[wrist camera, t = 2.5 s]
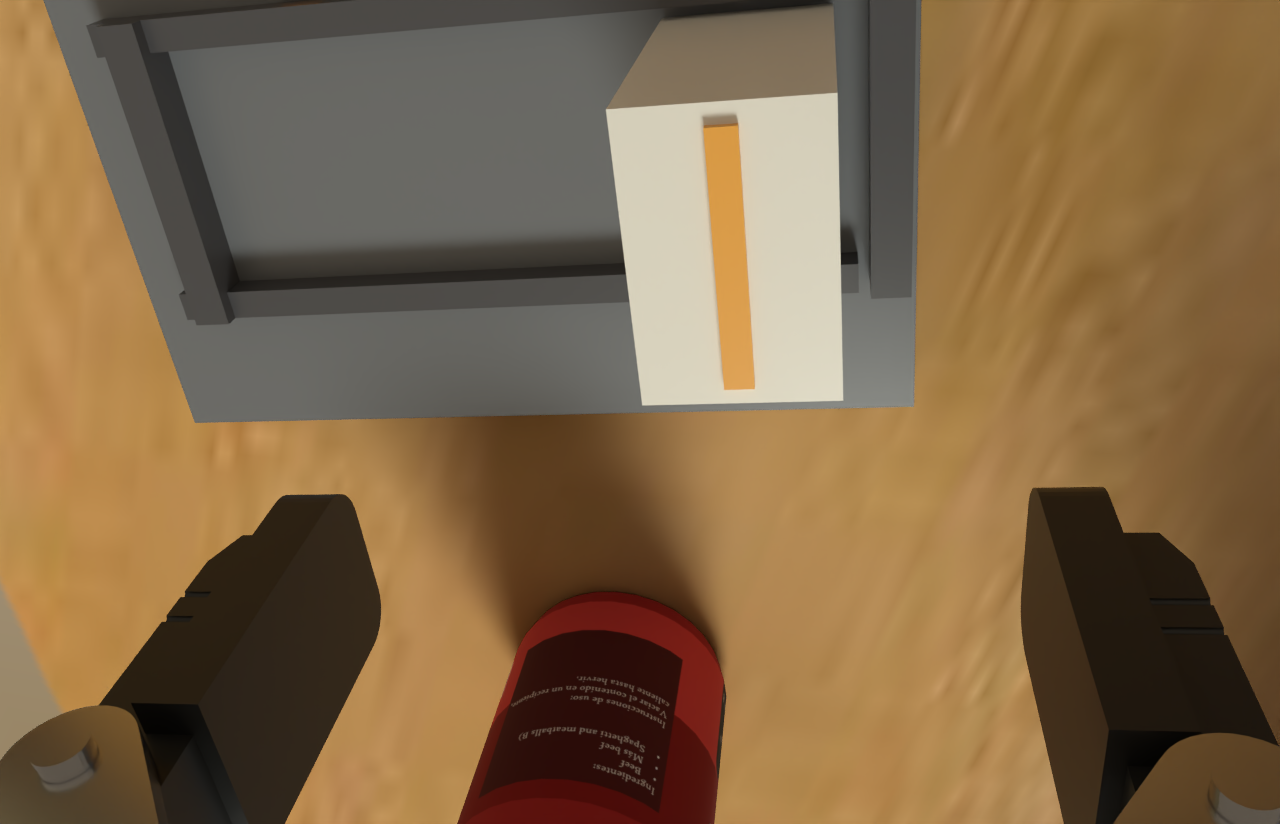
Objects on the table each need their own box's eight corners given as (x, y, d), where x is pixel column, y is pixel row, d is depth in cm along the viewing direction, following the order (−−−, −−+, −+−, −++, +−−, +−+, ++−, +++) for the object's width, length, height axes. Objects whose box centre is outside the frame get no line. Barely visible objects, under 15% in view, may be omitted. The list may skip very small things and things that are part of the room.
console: (918, -259, 25) (931, -261, 22) (908, 372, 32) (917, 429, 30) (41, -150, 28) (-41, -140, 26) (224, 391, 36) (175, 443, 34)
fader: (833, 2, 25) (837, 95, 18) (838, 246, 28) (843, 404, 21) (661, 17, 26) (604, 111, 19) (684, 253, 29) (640, 409, 22)
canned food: (616, 773, 43) (558, 1055, 34) (475, 642, 41) (371, 908, 31) (773, 695, 40) (759, 984, 30) (631, 549, 37) (568, 814, 28)
